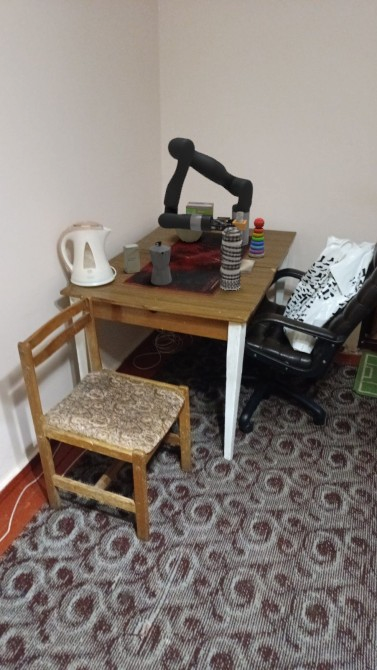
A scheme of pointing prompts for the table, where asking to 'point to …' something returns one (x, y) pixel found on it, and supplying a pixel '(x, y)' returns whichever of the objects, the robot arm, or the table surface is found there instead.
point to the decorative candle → (231, 258)
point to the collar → (240, 224)
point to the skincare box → (131, 258)
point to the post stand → (244, 264)
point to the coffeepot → (160, 264)
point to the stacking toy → (257, 239)
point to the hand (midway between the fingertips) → (237, 224)
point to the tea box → (199, 208)
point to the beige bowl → (188, 235)
